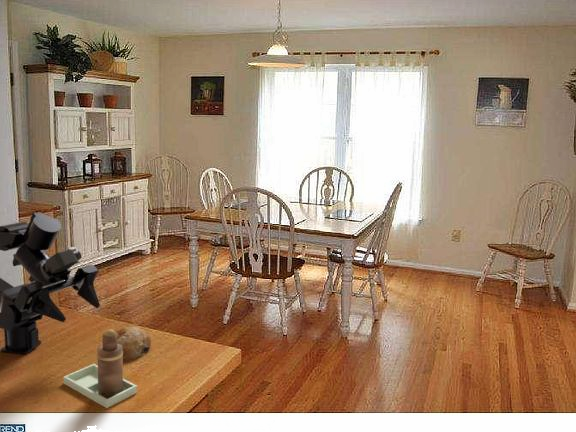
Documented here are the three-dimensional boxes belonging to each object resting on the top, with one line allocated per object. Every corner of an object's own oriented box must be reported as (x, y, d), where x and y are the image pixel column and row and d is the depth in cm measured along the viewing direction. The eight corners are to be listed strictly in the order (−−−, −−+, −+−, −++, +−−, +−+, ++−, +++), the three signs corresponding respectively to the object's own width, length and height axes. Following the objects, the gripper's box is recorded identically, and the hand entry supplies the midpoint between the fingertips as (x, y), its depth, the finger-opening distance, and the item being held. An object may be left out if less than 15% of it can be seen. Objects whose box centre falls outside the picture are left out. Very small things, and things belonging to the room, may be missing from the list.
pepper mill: (93, 398, 105) (92, 333, 102) (105, 385, 110) (104, 323, 107) (116, 401, 105) (115, 336, 102) (127, 388, 109) (126, 326, 107)
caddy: (63, 385, 110) (63, 376, 110) (94, 371, 116) (94, 363, 116) (106, 410, 102) (106, 401, 102) (137, 394, 108) (137, 385, 108)
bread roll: (130, 377, 122) (143, 351, 120) (93, 354, 123) (106, 327, 121) (149, 358, 131) (162, 333, 129) (115, 336, 132) (127, 311, 130)
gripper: (12, 248, 106) (58, 301, 102) (86, 230, 122) (128, 276, 118) (-4, 285, 111) (40, 338, 107) (69, 264, 127) (109, 309, 123)
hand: (82, 313), depth 114 cm, fingers open, 9 cm apart
